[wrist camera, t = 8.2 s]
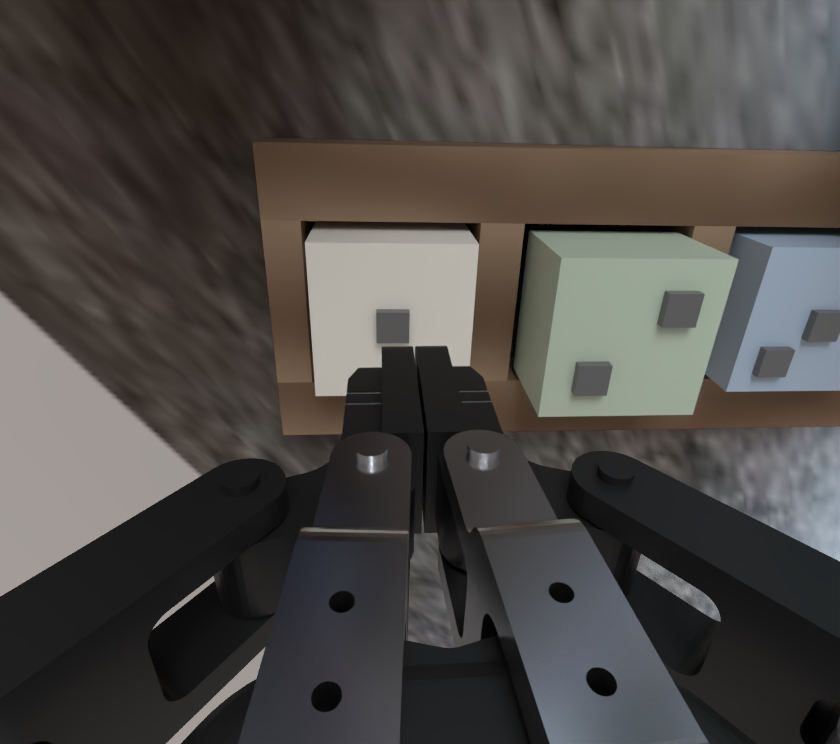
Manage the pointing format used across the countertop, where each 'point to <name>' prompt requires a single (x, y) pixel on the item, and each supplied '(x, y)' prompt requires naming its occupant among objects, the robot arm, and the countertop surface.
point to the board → (503, 238)
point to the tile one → (387, 293)
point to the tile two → (618, 321)
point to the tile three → (781, 312)
